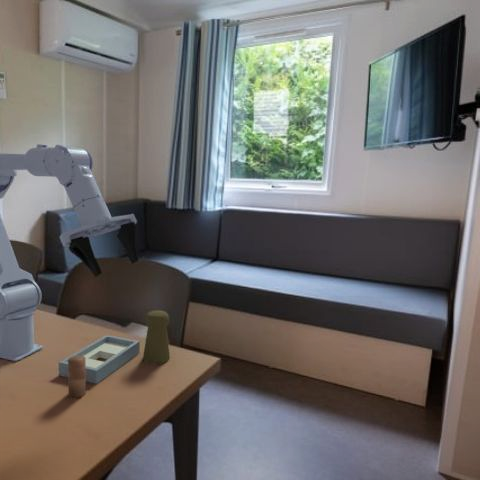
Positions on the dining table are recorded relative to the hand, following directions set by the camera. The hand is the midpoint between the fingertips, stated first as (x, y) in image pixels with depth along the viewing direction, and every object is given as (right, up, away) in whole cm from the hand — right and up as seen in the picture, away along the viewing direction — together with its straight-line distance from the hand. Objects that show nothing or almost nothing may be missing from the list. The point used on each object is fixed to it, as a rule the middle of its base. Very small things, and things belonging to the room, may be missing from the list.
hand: (117, 268), depth 79 cm
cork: (+4, -22, +16) cm, 28 cm away
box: (-7, -22, +13) cm, 26 cm away
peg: (-8, -24, 0) cm, 25 cm away
